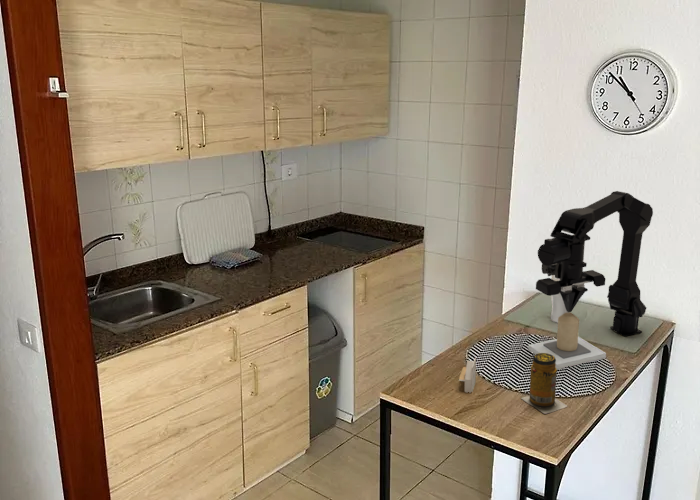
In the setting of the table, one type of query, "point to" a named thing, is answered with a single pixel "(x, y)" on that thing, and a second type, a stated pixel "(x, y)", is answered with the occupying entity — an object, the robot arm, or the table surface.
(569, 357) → the white flat block
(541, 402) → the condiment
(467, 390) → the architectural model
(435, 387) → the table surface
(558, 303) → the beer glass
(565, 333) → the candle
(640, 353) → the table surface
